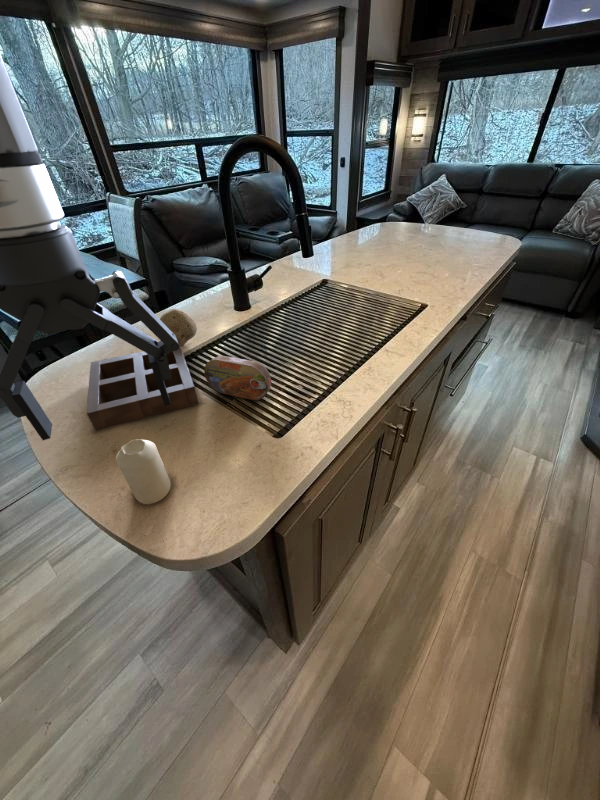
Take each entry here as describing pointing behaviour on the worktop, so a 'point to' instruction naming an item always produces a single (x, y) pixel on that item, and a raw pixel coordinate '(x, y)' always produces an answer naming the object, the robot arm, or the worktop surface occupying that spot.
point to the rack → (135, 389)
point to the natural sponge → (179, 325)
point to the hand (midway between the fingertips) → (110, 415)
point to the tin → (238, 377)
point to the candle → (143, 471)
